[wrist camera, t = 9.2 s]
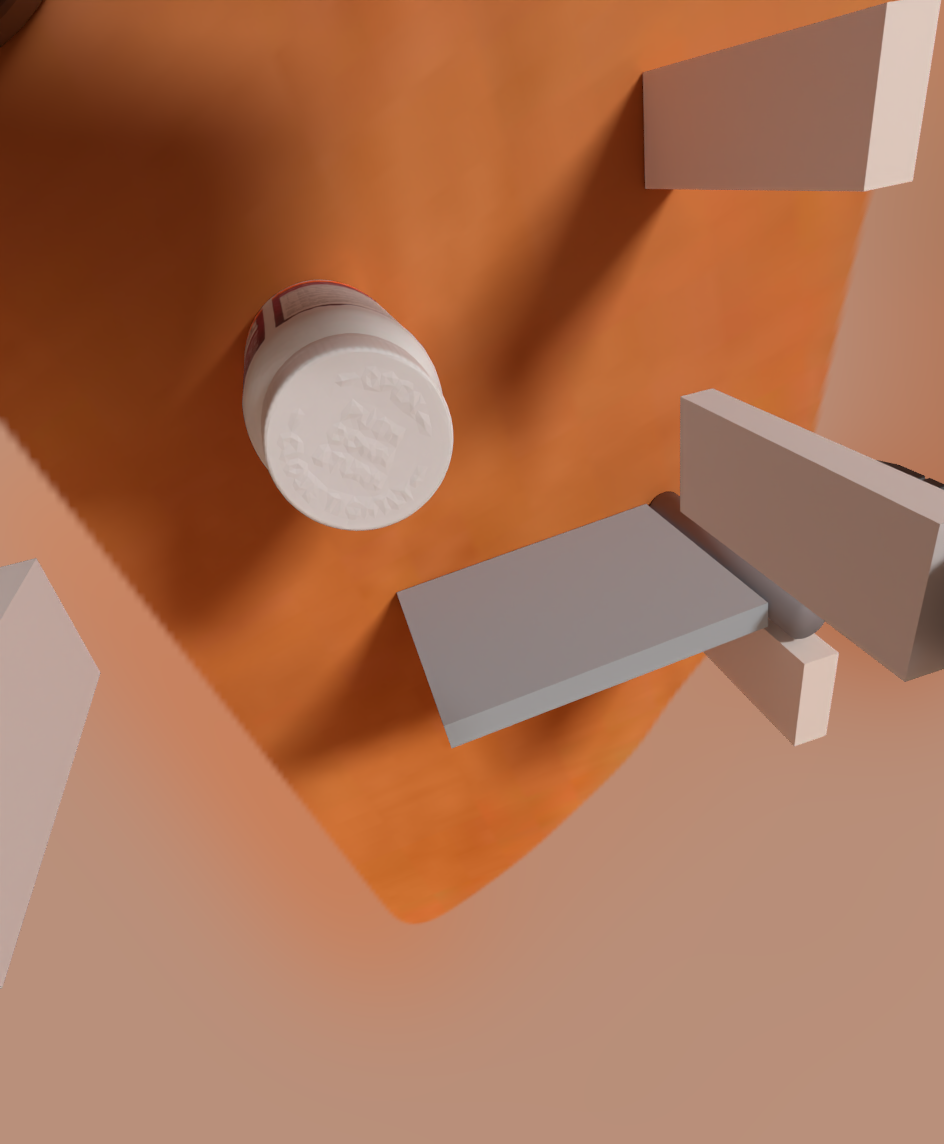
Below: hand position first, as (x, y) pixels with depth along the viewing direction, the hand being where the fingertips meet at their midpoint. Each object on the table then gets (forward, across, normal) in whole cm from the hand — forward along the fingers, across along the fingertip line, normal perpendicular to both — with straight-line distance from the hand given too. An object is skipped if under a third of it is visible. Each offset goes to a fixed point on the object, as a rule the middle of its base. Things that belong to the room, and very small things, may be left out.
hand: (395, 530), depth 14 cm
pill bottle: (+17, 0, 0) cm, 17 cm away
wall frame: (+16, +15, -4) cm, 23 cm away
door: (+16, +8, -12) cm, 22 cm away
